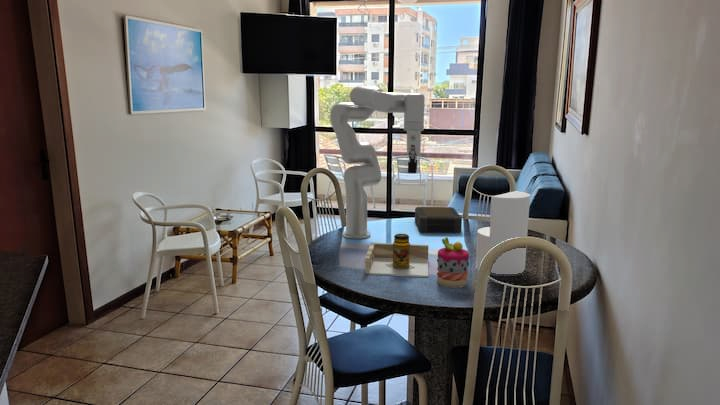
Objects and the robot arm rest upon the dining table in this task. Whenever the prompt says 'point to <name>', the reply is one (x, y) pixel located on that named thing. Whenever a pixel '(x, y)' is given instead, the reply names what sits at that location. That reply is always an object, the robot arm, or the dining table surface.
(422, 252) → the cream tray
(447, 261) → the cake
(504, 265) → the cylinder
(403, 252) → the condiment
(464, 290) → the dining table surface
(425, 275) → the mat
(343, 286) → the dining table surface
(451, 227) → the cash box
